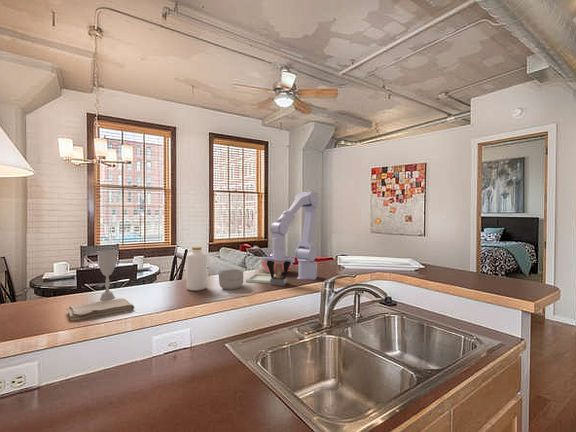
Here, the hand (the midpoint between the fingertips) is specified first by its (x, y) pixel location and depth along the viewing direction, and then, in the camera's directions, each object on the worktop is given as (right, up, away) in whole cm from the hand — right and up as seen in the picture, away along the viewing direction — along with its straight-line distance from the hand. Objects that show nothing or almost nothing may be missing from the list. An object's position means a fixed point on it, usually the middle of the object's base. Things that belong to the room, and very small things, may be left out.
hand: (278, 277), depth 142 cm
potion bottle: (-35, -3, -8) cm, 36 cm away
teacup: (-20, -4, -6) cm, 21 cm away
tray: (-8, -3, +10) cm, 13 cm away
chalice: (-65, -3, -24) cm, 69 cm away
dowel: (0, -3, 0) cm, 3 cm away
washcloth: (-58, -4, -39) cm, 70 cm away
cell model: (-2, -3, +28) cm, 28 cm away
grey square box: (0, -3, 0) cm, 3 cm away
